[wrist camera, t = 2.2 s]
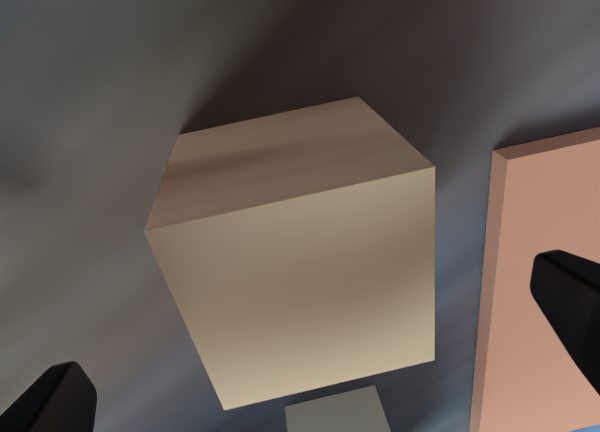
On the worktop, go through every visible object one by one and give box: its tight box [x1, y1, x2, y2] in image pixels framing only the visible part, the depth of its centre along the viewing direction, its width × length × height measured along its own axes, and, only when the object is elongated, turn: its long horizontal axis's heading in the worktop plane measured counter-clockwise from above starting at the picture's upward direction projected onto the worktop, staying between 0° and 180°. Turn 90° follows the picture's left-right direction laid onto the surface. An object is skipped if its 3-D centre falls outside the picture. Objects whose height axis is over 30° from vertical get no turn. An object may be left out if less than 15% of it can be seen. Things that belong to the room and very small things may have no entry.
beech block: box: [143, 96, 435, 410], centre depth 10 cm, size 5×5×5 cm
